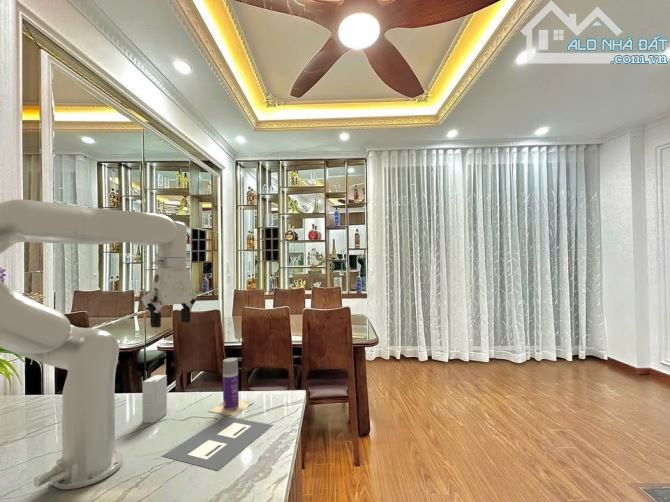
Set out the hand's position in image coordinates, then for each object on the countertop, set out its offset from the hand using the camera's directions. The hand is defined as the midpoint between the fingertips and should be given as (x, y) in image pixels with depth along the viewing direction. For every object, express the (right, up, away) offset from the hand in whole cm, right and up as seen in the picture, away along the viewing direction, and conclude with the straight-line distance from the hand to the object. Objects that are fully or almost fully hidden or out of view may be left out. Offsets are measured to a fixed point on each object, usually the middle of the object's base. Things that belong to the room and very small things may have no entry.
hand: (171, 324), depth 94 cm
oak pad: (+13, -29, +12) cm, 34 cm away
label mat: (+17, -28, -8) cm, 34 cm away
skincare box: (-8, -30, +6) cm, 31 cm away
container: (+13, -29, +12) cm, 34 cm away
